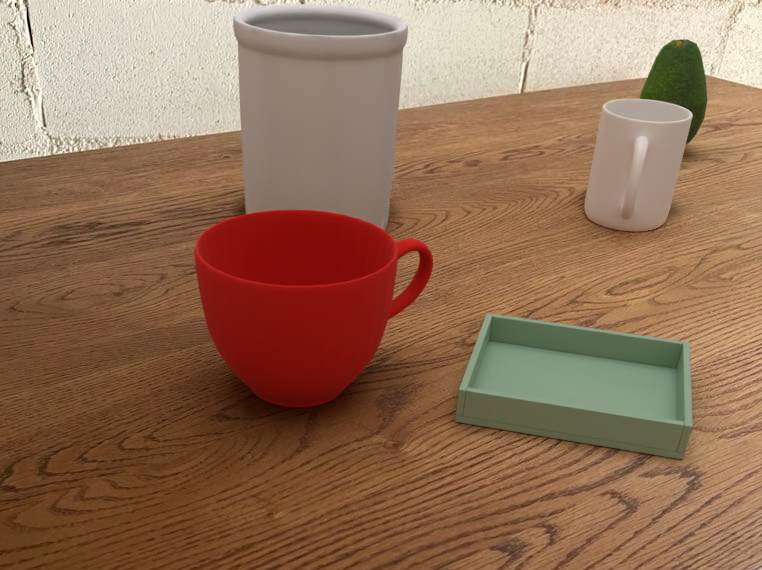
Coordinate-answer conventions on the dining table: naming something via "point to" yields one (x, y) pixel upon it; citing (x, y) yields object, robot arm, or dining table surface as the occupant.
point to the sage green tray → (579, 385)
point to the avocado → (679, 80)
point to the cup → (636, 163)
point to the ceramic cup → (301, 298)
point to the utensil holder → (319, 108)
